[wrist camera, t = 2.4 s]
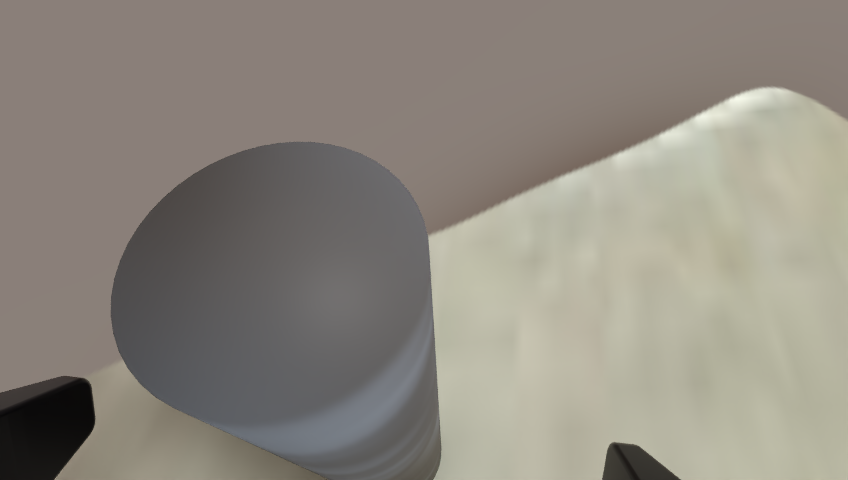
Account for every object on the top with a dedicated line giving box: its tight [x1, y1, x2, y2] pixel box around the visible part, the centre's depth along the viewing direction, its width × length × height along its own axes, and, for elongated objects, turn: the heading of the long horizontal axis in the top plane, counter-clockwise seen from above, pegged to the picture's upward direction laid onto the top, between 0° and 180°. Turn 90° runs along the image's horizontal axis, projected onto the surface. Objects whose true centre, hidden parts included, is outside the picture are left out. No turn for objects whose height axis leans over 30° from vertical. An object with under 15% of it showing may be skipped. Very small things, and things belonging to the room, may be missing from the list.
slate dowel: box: [111, 142, 441, 480], centre depth 10 cm, size 3×3×13 cm
